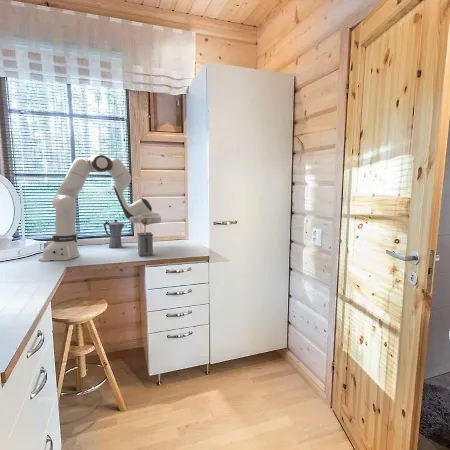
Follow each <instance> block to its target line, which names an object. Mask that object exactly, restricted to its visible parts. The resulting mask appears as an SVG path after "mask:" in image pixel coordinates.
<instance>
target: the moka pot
mask: <svg viewBox="0 0 450 450" xmlns="http://www.w3.org/2000/svg"><path fill="white" fill-rule="evenodd" d="M107 225H108V227H109V228H108V229H109V232H108V230H107ZM124 226H125V223H123V222H118V220H117V219H114V221H111V222H109V221H105V222H104V224H103V227H104V228H103V229H104V230H105V233H106V235H107V236H110V238H109V244H108V247H109V248H112V249H119V248H122V246H123V244H122V230H123V228H124Z"/></svg>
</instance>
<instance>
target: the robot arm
mask: <svg viewBox="0 0 450 450" xmlns="http://www.w3.org/2000/svg"><path fill="white" fill-rule="evenodd" d="M103 172H107V173H109V175H110V176H111V177H112V179H113V180H114V186H113V189H114V193H115V195H116V197H117V200H118V202H119V205H120V206H121V208H122V211H123V214H124V217H125V218H126V219H127V220H129V224H142V218H147V224H146V226H148V225H149V226H150V225H154V224H160V223H162V216H161V215H160V213H157V212H153V211H152V210H153V207H152V205H151V204H150V202H149V201H148V200H147V199H146V198H143V197H141V198H139V199H138V200H136V201H134V202H133V203H131V204H128V203H127V201H126V198H125V196H124V192H125V190H126V188H128V186H129V185H130V183H131V181H132V176H131V174H130V172H129V170H128V169H127V167H126V166H125V164H124V163H123V162H122V161H121V160H120V159H119V158H117V157H113V158H110V157H107V156H105V155H103V154H95V155H92V156H90V157H89V158H87V159H85V158H83V157H77V158H75V159H74V160H73V162H72V163H71V165H70V167H69V169H68V170H67V173H66V175H65V177H64V179H63V181H62V183H61V185H60V186H59V188H58V190H57V191H56V193H55V195H54V197H53V199H52V203H51V204H52V207H53V208H54V209H55V221H54V228H55V234H52V235H51V237H52V238H51V239H52V241H51V242H50V243H49V244H48V245H46V246H45V247H44V249H43V251H42V255H40V256H39V257H38V260H39V261H40V262H50V260H54V261H68V260H71V259H75V258H79V257H80V255H81V254H80V252H79V249H78V235H77V233H76V230H77V229H76V216H77V215H76V214H77V213H76V211H77V202H76V198H77V197H78V195H79V193H80V192H82V189H83V187H84V185H85V183H86V180H87V179H88V176H89V174H90V173H103Z"/></svg>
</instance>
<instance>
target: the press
mask: <svg viewBox="0 0 450 450" xmlns="http://www.w3.org/2000/svg"><path fill="white" fill-rule="evenodd" d="M136 235H137V255H138V256H139V257H140V258H141V257H142V258H143V257H153V256H154V250H153V249H154V246H153V245H154V243H153V236H154V234H153V233H152V232H149V231H146V234H144V232H137V234H136Z"/></svg>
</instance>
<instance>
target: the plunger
mask: <svg viewBox="0 0 450 450" xmlns="http://www.w3.org/2000/svg"><path fill="white" fill-rule="evenodd" d="M141 224H142V225H143V233H144V234H146V232H147V230H146V229H147V228H146V227H147V225H146V224H147V218H142V223H141Z"/></svg>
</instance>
